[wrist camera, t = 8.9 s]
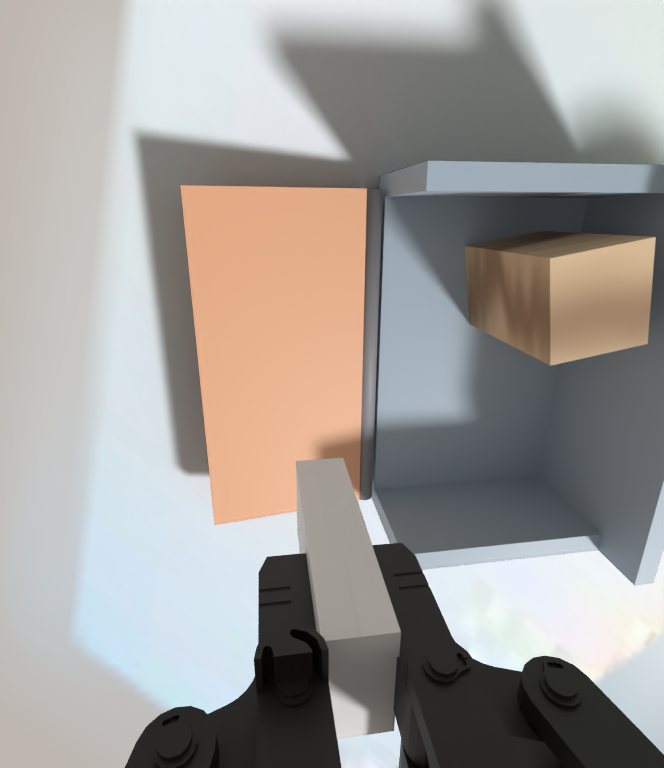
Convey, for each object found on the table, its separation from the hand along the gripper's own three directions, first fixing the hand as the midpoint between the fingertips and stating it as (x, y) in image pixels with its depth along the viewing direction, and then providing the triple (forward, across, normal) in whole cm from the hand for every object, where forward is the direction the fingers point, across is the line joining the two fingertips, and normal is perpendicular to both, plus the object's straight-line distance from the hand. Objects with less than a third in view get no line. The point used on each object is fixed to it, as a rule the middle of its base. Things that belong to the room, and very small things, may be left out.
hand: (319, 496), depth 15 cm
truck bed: (+17, +13, 0) cm, 21 cm away
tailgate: (+16, +5, 0) cm, 16 cm away
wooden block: (+16, +14, +4) cm, 21 cm away
